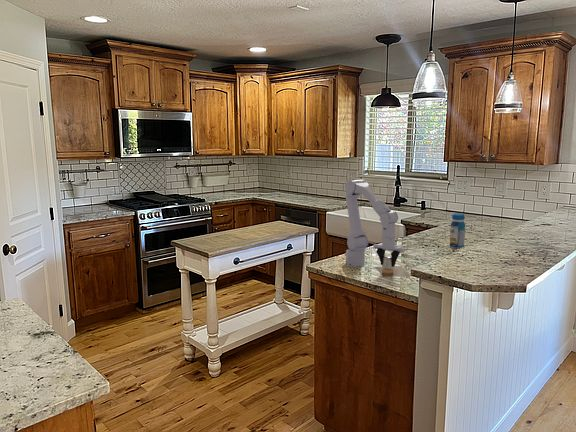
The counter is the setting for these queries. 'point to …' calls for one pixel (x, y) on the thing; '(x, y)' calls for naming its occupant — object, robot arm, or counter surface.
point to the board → (397, 272)
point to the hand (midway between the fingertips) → (387, 265)
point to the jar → (387, 271)
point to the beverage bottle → (457, 231)
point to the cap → (387, 262)
